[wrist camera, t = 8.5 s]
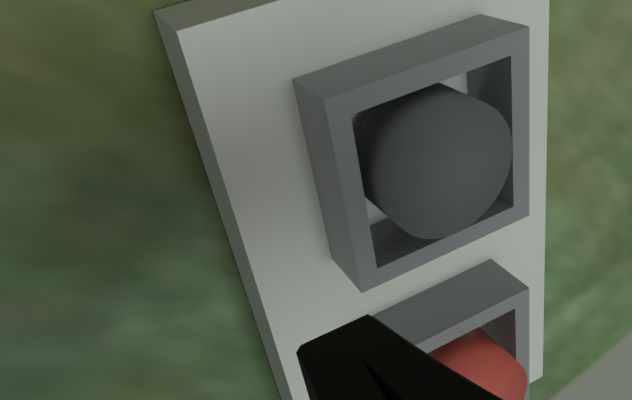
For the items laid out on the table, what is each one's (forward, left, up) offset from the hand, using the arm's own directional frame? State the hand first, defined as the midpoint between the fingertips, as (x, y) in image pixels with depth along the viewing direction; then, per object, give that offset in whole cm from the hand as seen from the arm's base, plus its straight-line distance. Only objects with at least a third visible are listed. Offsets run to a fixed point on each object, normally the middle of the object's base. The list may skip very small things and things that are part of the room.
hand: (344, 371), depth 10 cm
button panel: (+6, -5, -10) cm, 13 cm away
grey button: (+6, -1, -7) cm, 9 cm away
